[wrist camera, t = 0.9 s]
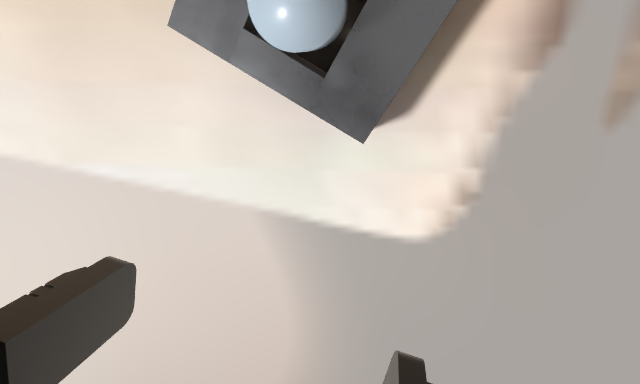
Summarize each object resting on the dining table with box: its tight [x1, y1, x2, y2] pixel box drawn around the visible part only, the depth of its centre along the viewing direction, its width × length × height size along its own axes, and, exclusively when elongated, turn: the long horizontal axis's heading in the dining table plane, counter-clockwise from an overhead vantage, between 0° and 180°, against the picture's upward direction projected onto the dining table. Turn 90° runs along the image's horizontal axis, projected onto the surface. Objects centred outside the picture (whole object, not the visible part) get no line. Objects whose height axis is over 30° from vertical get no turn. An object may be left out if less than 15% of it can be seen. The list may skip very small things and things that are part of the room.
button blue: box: [247, 0, 348, 53], centre depth 18 cm, size 5×5×4 cm
